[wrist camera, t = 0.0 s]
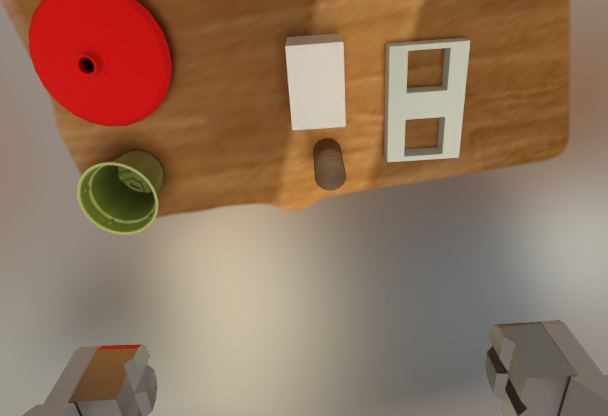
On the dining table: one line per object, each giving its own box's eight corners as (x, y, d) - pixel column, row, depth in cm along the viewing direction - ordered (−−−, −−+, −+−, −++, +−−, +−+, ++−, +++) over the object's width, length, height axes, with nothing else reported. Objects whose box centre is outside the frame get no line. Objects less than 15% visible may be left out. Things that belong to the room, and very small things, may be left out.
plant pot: (96, 184, 61) (67, 214, 54) (117, 124, 58) (89, 149, 50) (161, 212, 64) (142, 246, 56) (186, 157, 60) (169, 185, 52)
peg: (312, 139, 59) (314, 162, 51) (340, 137, 58) (345, 160, 51) (314, 165, 60) (315, 191, 53) (341, 163, 60) (346, 189, 53)
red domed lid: (179, 125, 58) (165, 143, 51) (53, 112, 57) (22, 130, 51) (176, -12, 50) (158, -9, 44) (30, -28, 50) (-9, -28, 43)
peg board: (385, 43, 53) (389, 46, 51) (463, 37, 53) (470, 40, 51) (384, 154, 60) (387, 162, 57) (453, 150, 59) (458, 157, 57)
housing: (287, 37, 53) (285, 46, 46) (338, 33, 52) (343, 41, 46) (293, 112, 57) (292, 130, 51) (340, 109, 57) (345, 126, 51)
